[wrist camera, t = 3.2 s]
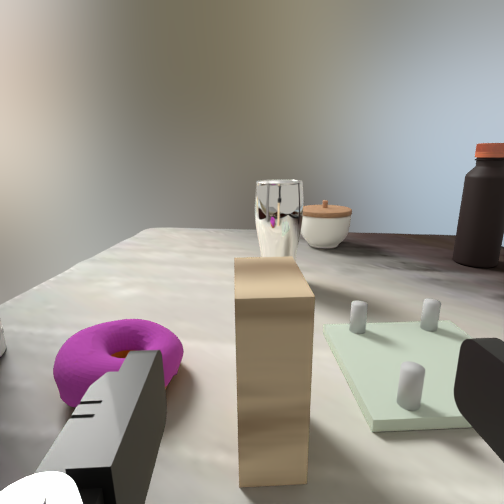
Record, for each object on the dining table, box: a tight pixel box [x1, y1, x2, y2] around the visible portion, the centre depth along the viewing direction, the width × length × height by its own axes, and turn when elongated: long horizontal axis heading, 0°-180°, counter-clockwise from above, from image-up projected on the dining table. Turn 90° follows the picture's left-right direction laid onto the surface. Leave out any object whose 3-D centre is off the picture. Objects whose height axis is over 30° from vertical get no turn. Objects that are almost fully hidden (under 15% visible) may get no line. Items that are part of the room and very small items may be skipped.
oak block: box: [234, 256, 315, 488], centre depth 22 cm, size 7×4×12 cm, turn 3°
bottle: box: [453, 143, 504, 268], centre depth 58 cm, size 7×7×20 cm
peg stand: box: [323, 299, 473, 432], centre depth 31 cm, size 14×14×4 cm
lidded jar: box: [301, 200, 352, 249], centre depth 73 cm, size 11×11×9 cm
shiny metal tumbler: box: [255, 180, 303, 262], centre depth 51 cm, size 7×7×15 cm
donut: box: [53, 319, 183, 407], centre depth 30 cm, size 10×10×5 cm
